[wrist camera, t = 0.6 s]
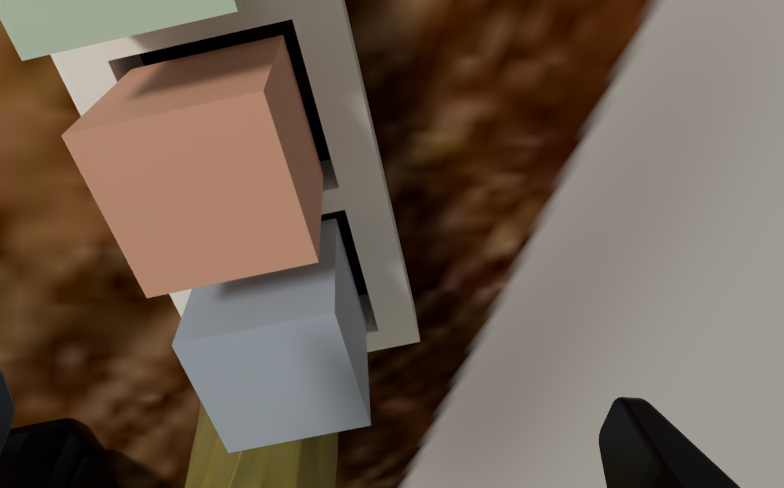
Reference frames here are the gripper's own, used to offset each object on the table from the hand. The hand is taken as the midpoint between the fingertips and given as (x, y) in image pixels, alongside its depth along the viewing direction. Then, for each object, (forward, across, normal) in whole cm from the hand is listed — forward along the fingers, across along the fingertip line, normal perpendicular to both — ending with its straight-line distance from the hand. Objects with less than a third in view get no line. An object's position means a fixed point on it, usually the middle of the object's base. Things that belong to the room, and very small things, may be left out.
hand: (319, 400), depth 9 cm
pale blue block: (+11, +2, +6) cm, 13 cm away
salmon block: (+11, +3, +1) cm, 11 cm away
